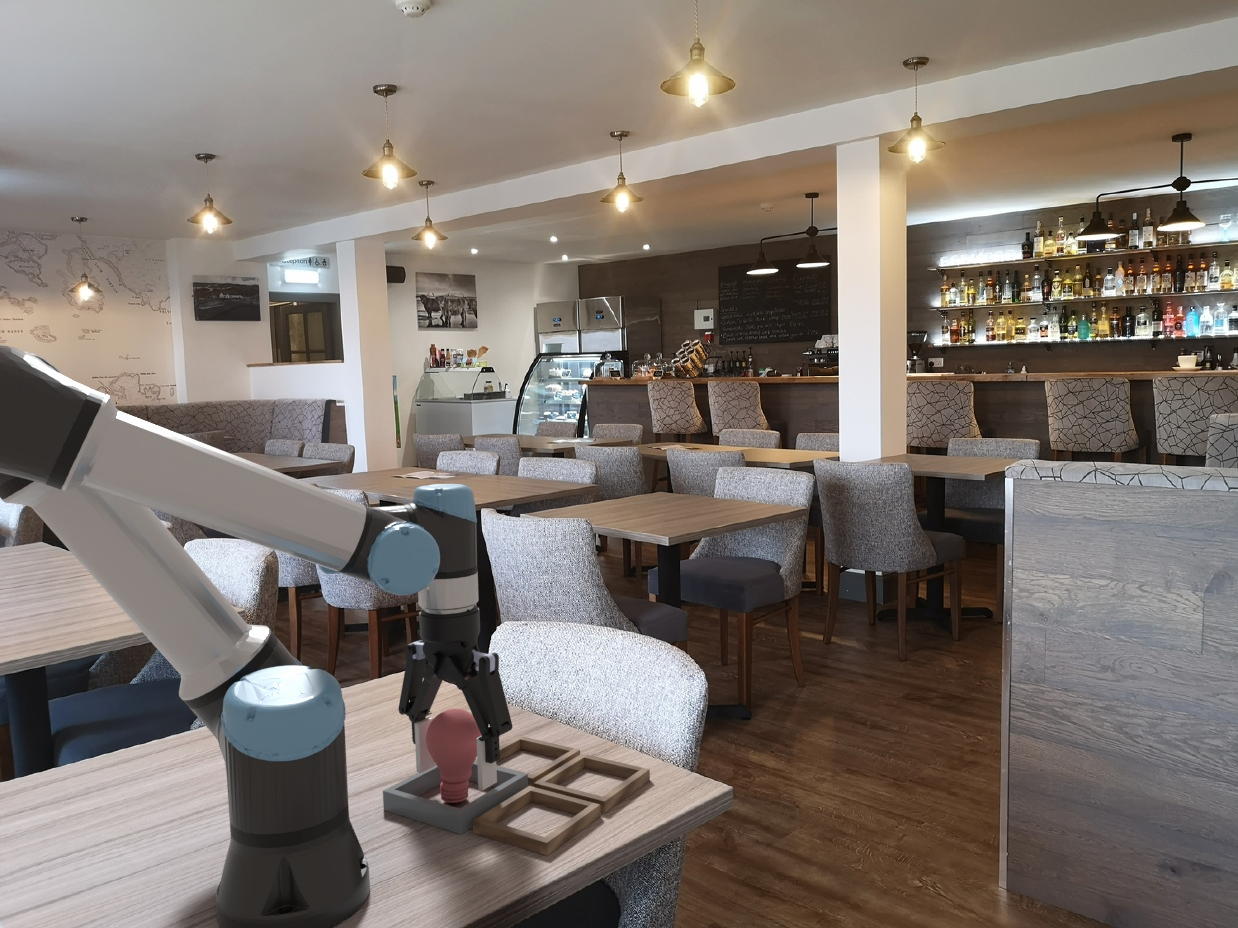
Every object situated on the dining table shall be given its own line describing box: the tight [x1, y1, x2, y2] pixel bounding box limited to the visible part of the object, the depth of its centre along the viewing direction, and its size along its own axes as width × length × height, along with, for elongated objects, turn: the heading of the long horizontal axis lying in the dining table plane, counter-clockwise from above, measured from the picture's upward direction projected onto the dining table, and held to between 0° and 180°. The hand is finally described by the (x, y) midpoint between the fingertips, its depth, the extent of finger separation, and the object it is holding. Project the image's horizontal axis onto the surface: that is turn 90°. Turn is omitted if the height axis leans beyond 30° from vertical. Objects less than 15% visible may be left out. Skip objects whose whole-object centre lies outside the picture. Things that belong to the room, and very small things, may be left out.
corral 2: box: [475, 735, 581, 787], centre depth 130 cm, size 11×11×2 cm
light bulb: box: [426, 708, 482, 804], centre depth 119 cm, size 7×7×12 cm
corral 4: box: [534, 753, 651, 814], centre depth 123 cm, size 11×11×2 cm
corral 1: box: [382, 761, 528, 835], centre depth 119 cm, size 13×13×2 cm
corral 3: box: [472, 786, 602, 856], centre depth 112 cm, size 11×11×2 cm
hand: (456, 776), depth 119 cm, fingers open, 10 cm apart
